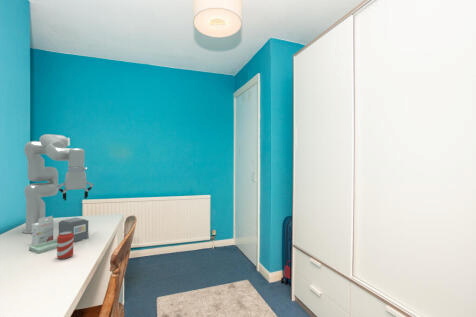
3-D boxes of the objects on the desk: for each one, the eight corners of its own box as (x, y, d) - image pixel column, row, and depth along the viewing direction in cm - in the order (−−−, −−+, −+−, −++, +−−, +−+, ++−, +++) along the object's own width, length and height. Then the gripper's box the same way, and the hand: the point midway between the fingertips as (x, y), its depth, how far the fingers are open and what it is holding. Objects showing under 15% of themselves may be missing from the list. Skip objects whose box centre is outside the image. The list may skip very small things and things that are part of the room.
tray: (28, 250, 119) (28, 246, 119) (59, 241, 132) (59, 238, 132) (38, 253, 115) (38, 250, 115) (69, 244, 127) (69, 241, 127)
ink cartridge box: (46, 239, 135) (47, 215, 135) (53, 240, 134) (53, 215, 134) (31, 244, 127) (31, 218, 127) (38, 245, 126) (38, 219, 126)
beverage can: (53, 259, 109) (54, 234, 109) (67, 253, 115) (67, 230, 115) (63, 260, 108) (63, 235, 108) (76, 255, 114) (76, 231, 114)
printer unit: (58, 240, 134) (58, 220, 134) (76, 235, 143) (76, 217, 143) (70, 243, 128) (70, 223, 129) (88, 238, 138) (88, 219, 138)
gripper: (92, 169, 139) (92, 196, 139) (56, 169, 128) (56, 199, 128) (94, 169, 134) (94, 198, 134) (57, 170, 122) (56, 201, 122)
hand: (75, 199), depth 131 cm, fingers open, 9 cm apart
